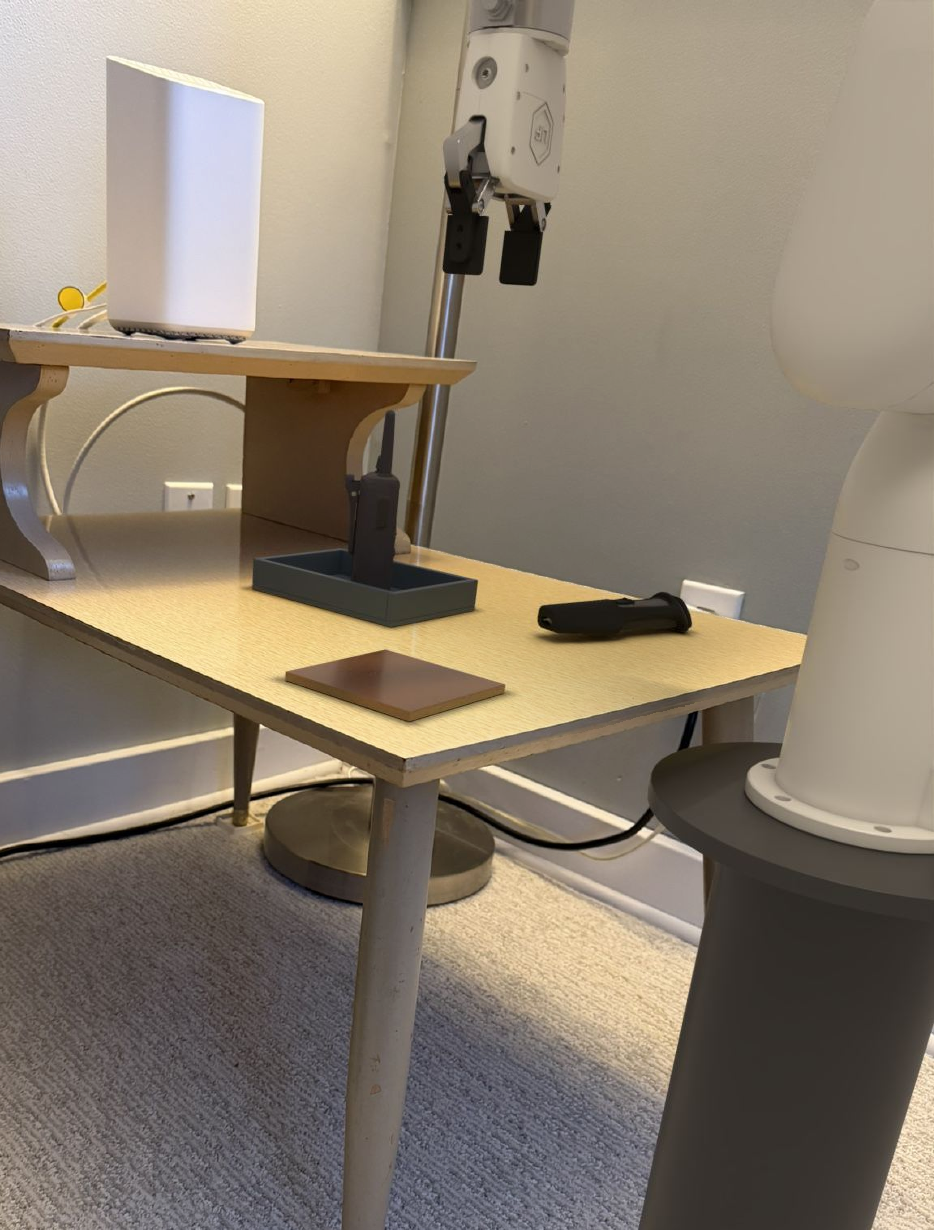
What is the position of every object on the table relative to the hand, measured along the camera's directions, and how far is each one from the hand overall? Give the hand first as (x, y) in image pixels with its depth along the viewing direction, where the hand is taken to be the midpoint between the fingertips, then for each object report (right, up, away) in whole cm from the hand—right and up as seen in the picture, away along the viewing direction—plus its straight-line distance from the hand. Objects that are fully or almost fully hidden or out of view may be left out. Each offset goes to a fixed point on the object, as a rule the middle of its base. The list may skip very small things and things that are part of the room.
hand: (490, 279), depth 91 cm
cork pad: (-8, -33, -17) cm, 38 cm away
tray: (-10, -24, +6) cm, 27 cm away
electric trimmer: (+10, -28, +2) cm, 30 cm away
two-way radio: (-10, -24, +6) cm, 27 cm away
